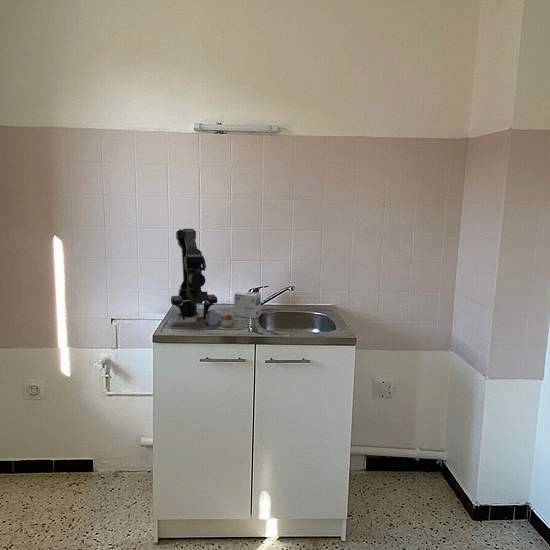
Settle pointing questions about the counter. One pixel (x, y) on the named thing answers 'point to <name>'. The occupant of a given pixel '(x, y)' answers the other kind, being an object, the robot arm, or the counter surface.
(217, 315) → the slate block
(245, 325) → the counter surface
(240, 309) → the light bulb box
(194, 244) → the robot arm
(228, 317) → the trap lane
